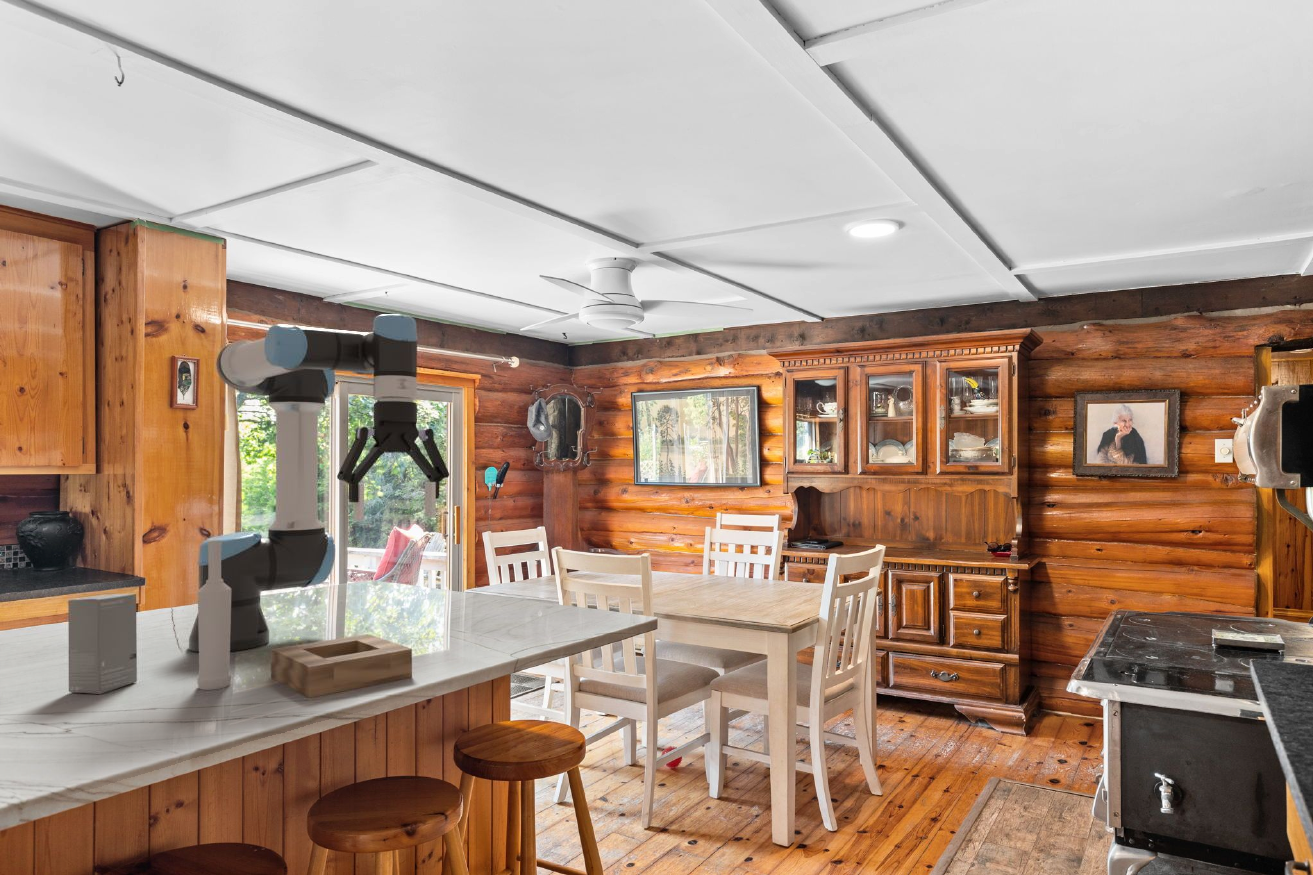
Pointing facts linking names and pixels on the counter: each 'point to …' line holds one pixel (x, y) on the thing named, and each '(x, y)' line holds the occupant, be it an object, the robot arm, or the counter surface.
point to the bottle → (214, 625)
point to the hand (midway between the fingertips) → (395, 519)
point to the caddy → (340, 664)
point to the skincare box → (102, 643)
